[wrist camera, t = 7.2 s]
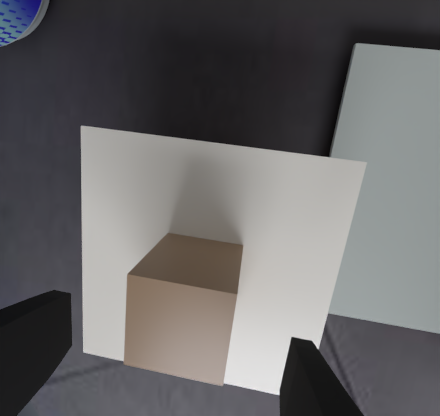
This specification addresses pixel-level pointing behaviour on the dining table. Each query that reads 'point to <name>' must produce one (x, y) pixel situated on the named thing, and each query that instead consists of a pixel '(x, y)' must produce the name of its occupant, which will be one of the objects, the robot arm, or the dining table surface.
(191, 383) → the dining table surface
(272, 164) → the cover sheet
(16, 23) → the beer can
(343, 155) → the mat
